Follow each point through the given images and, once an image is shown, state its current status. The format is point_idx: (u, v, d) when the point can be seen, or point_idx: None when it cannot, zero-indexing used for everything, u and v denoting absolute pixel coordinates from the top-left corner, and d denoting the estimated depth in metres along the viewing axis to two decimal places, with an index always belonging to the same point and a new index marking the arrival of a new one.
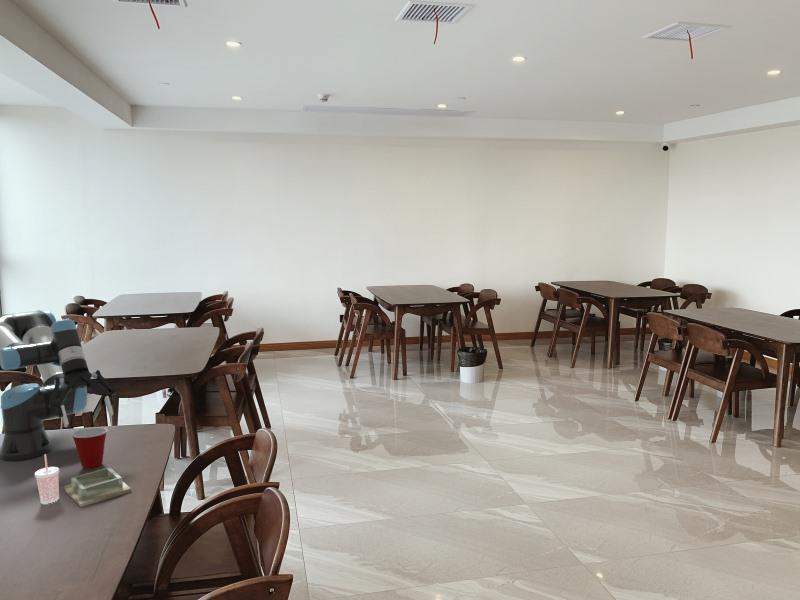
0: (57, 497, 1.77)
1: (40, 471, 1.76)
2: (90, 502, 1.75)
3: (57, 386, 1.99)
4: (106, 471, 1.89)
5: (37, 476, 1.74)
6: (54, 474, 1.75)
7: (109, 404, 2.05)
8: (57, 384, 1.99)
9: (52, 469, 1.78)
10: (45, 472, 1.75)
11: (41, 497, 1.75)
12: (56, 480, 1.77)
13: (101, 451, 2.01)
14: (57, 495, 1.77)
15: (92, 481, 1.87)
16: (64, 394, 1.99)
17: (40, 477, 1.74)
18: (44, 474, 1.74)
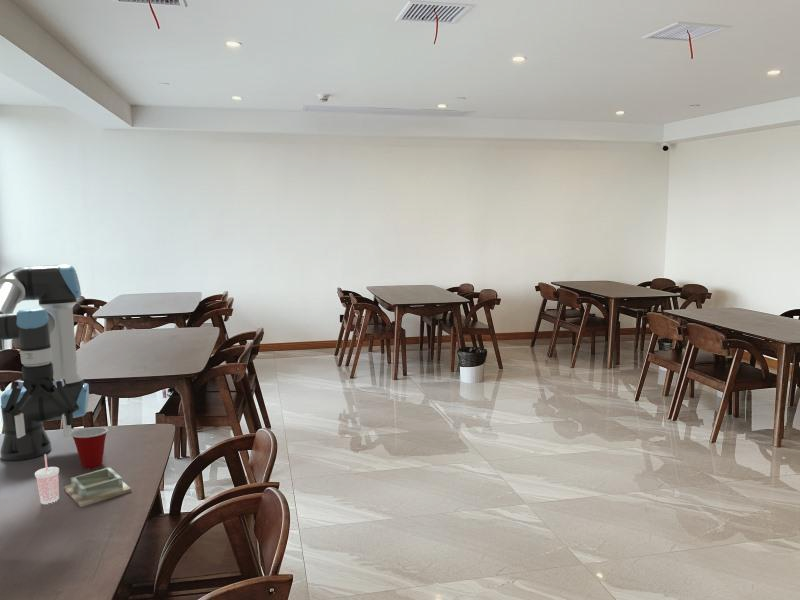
0: (57, 497, 1.77)
1: (40, 471, 1.76)
2: (90, 502, 1.75)
3: (13, 392, 1.73)
4: (106, 471, 1.89)
5: (37, 476, 1.74)
6: (54, 474, 1.75)
7: (64, 425, 1.73)
8: (14, 390, 1.72)
9: (52, 469, 1.78)
10: (45, 472, 1.75)
11: (41, 497, 1.75)
12: (56, 480, 1.77)
13: (101, 451, 2.01)
14: (57, 495, 1.77)
15: (92, 481, 1.87)
16: (19, 403, 1.73)
17: (40, 477, 1.74)
18: (44, 474, 1.74)
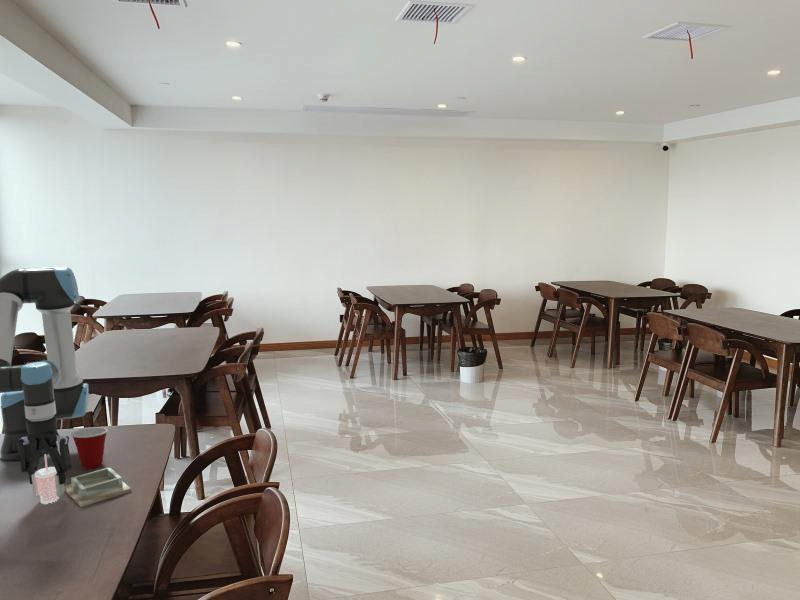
0: (57, 497, 1.77)
1: (40, 471, 1.76)
2: (90, 502, 1.75)
3: (22, 450, 1.74)
4: (106, 471, 1.89)
5: (37, 476, 1.74)
6: (54, 474, 1.75)
7: (56, 485, 1.75)
8: (22, 447, 1.74)
9: (52, 469, 1.78)
10: (45, 472, 1.75)
11: (41, 497, 1.75)
12: None
13: (101, 451, 2.01)
14: None
15: (92, 481, 1.87)
16: (31, 460, 1.75)
17: (40, 477, 1.74)
18: (44, 474, 1.74)
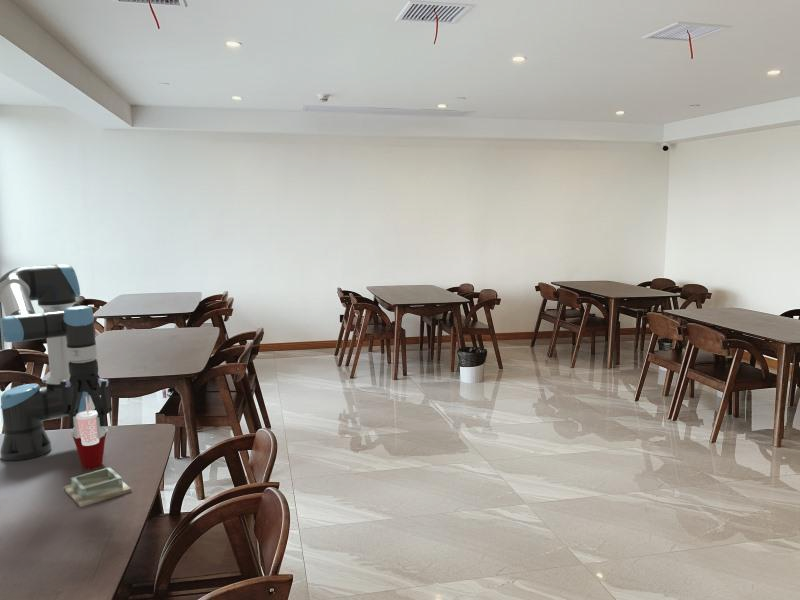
0: (97, 439, 1.81)
1: (81, 413, 1.80)
2: (90, 502, 1.75)
3: (64, 392, 1.78)
4: (106, 471, 1.89)
5: (79, 417, 1.77)
6: (95, 416, 1.79)
7: (97, 427, 1.79)
8: (64, 389, 1.78)
9: (93, 412, 1.81)
10: (86, 414, 1.79)
11: (82, 439, 1.79)
12: None
13: (101, 451, 2.01)
14: (97, 437, 1.81)
15: (92, 481, 1.87)
16: (73, 402, 1.78)
17: (82, 418, 1.77)
18: (85, 416, 1.78)
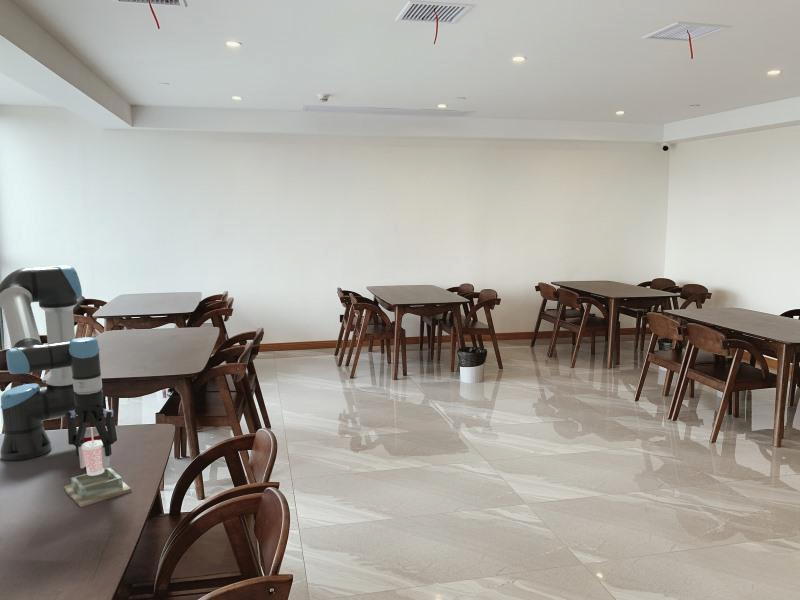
0: (103, 469, 1.82)
1: (86, 444, 1.81)
2: (90, 502, 1.75)
3: (70, 423, 1.80)
4: (106, 471, 1.89)
5: (84, 448, 1.79)
6: (100, 446, 1.80)
7: (102, 457, 1.80)
8: (69, 420, 1.79)
9: (98, 442, 1.83)
10: (91, 444, 1.80)
11: (88, 469, 1.80)
12: None
13: None
14: None
15: (92, 481, 1.87)
16: (79, 433, 1.80)
17: (87, 449, 1.79)
18: (91, 446, 1.79)
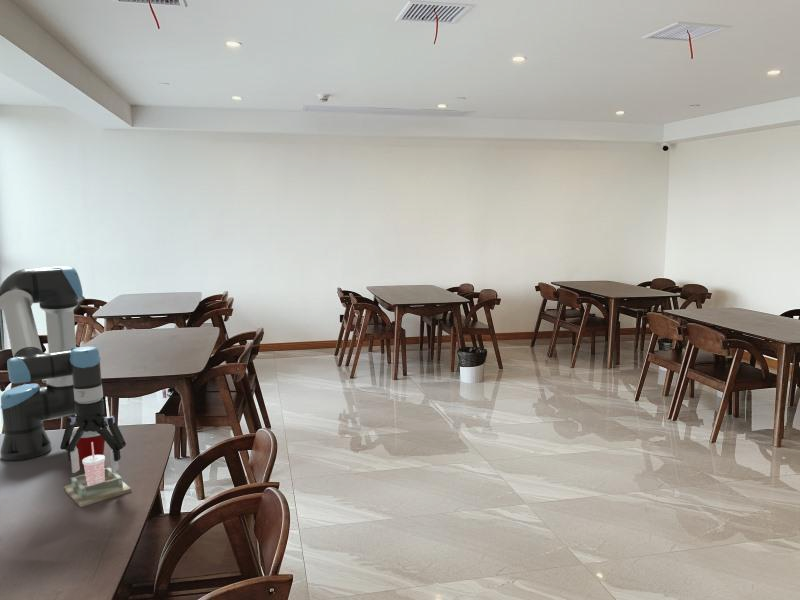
0: None
1: (87, 459, 1.82)
2: (90, 502, 1.75)
3: (67, 429, 1.80)
4: (106, 471, 1.89)
5: (85, 463, 1.80)
6: (101, 461, 1.81)
7: (111, 461, 1.81)
8: (68, 426, 1.80)
9: (98, 457, 1.84)
10: (92, 459, 1.81)
11: (88, 484, 1.81)
12: (102, 467, 1.82)
13: (101, 451, 2.01)
14: None
15: None
16: (74, 439, 1.80)
17: (88, 464, 1.79)
18: (91, 461, 1.80)
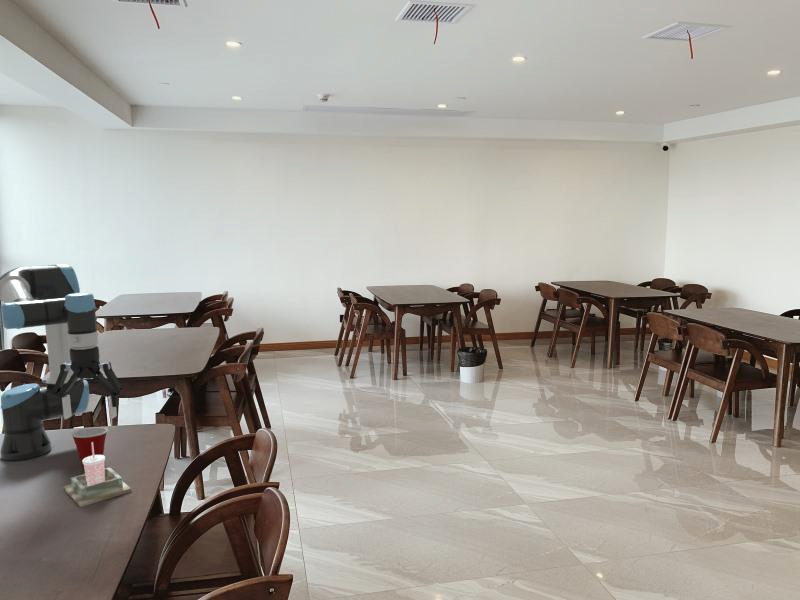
0: None
1: (87, 459, 1.82)
2: (90, 502, 1.75)
3: (61, 374, 1.78)
4: (106, 471, 1.89)
5: (85, 463, 1.80)
6: (101, 461, 1.81)
7: (109, 407, 1.78)
8: (61, 372, 1.77)
9: (98, 457, 1.84)
10: (92, 459, 1.81)
11: (88, 484, 1.81)
12: (103, 467, 1.82)
13: (101, 451, 2.01)
14: None
15: None
16: (67, 385, 1.78)
17: (88, 464, 1.79)
18: (91, 461, 1.80)
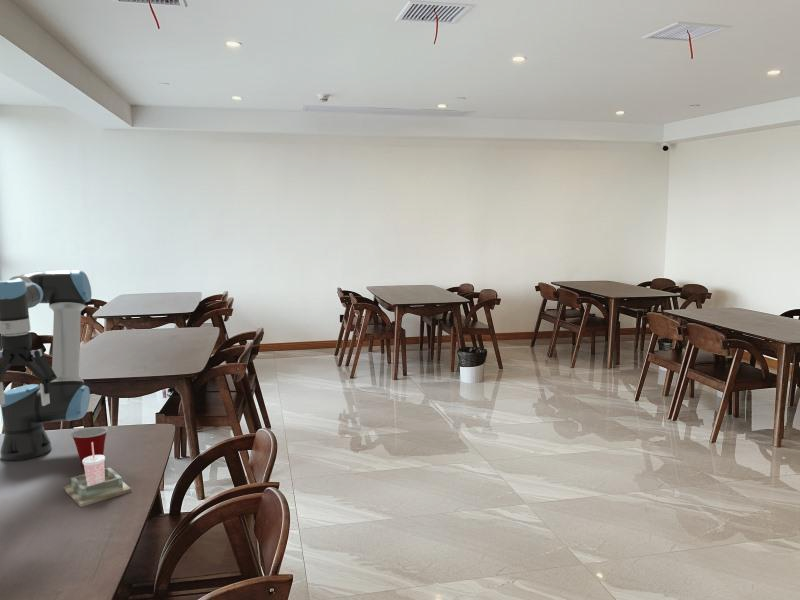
0: None
1: (87, 459, 1.82)
2: (90, 502, 1.75)
3: None
4: (106, 471, 1.89)
5: (85, 463, 1.80)
6: (101, 461, 1.81)
7: (41, 394, 1.78)
8: None
9: (98, 457, 1.84)
10: (92, 459, 1.81)
11: (88, 484, 1.81)
12: (103, 467, 1.82)
13: (101, 451, 2.01)
14: None
15: None
16: None
17: (88, 464, 1.79)
18: (91, 461, 1.80)
